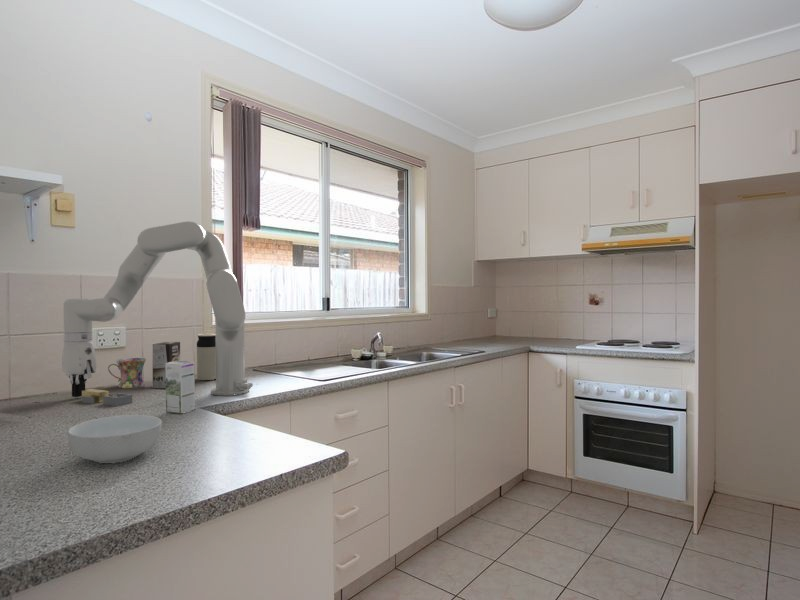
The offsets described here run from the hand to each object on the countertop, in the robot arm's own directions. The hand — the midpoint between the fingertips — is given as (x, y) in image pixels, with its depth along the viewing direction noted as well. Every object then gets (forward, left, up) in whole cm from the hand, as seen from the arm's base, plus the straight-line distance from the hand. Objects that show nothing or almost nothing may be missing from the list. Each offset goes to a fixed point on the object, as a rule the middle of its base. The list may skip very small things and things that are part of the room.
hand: (78, 396), depth 154 cm
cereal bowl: (-59, +31, -2) cm, 67 cm away
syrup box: (-39, -4, -2) cm, 39 cm away
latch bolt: (-8, 0, -1) cm, 8 cm away
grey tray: (-13, 0, -2) cm, 13 cm away
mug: (+5, -21, -2) cm, 22 cm away
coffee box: (-3, -31, -2) cm, 31 cm away
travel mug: (-6, -48, -2) cm, 48 cm away
